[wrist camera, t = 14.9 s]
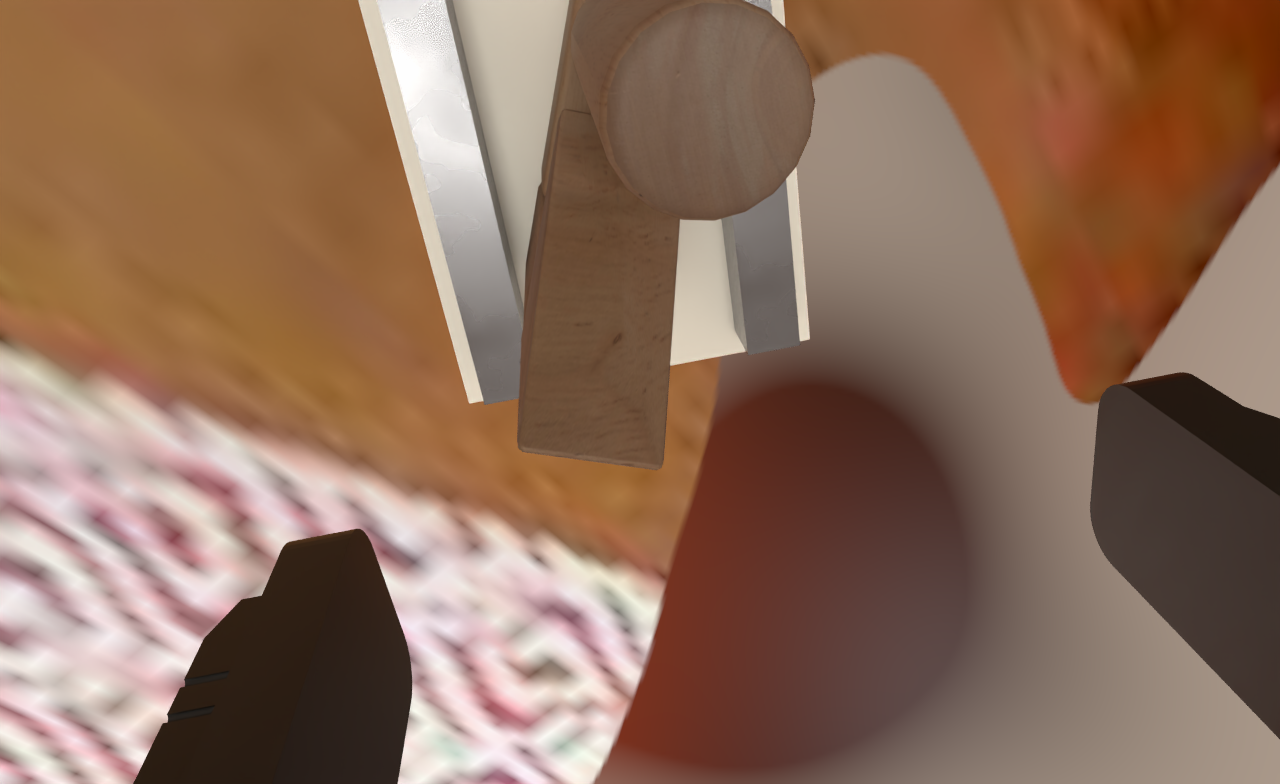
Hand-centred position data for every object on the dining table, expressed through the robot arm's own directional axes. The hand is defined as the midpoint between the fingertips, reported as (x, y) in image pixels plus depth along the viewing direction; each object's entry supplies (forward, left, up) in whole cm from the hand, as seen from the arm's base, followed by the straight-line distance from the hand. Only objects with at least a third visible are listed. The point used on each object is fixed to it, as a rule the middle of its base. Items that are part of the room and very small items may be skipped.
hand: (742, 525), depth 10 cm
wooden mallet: (0, 0, -25) cm, 25 cm away
